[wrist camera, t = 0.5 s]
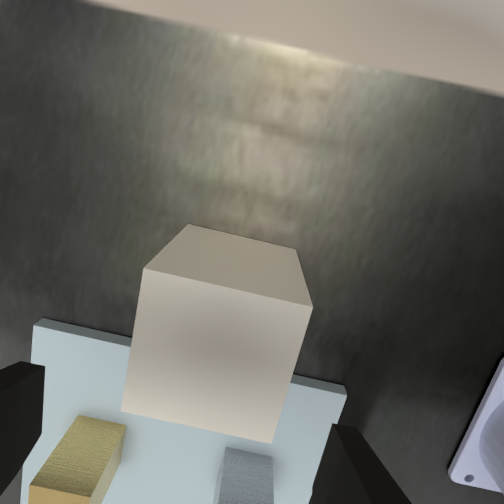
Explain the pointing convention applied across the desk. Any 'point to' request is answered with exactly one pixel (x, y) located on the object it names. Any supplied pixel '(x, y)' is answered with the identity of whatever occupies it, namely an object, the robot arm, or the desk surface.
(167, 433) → the post board
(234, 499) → the steel post
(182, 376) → the cream rectangular block
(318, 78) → the desk surface
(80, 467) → the yellow wooden block
